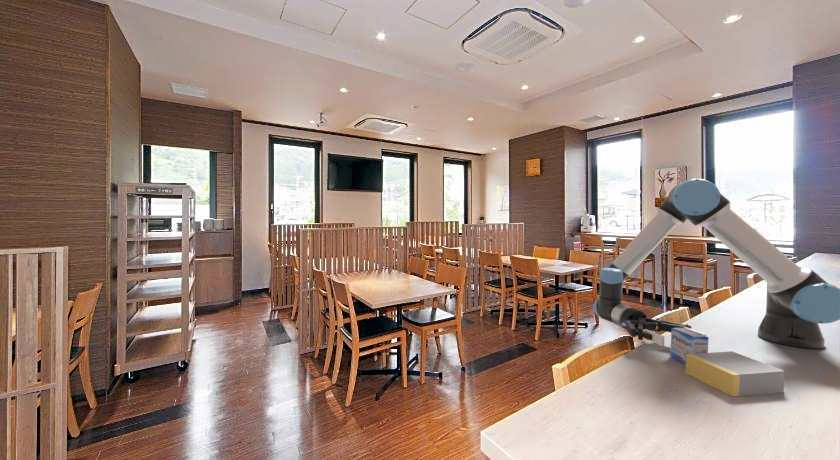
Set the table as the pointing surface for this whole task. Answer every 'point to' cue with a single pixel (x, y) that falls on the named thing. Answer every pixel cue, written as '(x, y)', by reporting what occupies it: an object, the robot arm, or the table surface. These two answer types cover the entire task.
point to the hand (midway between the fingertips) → (684, 340)
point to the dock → (735, 373)
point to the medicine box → (687, 343)
